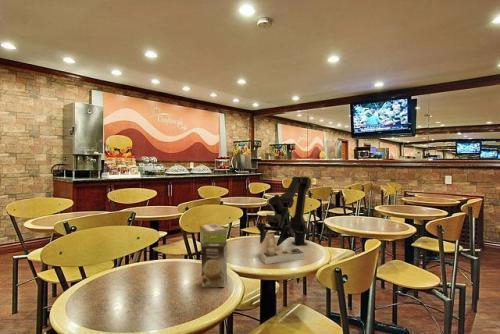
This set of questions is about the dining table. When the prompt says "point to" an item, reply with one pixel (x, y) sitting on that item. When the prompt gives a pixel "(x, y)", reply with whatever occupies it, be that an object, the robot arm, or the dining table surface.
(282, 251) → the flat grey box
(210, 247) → the coffee box
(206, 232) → the tea box
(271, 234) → the peg
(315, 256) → the dining table surface
